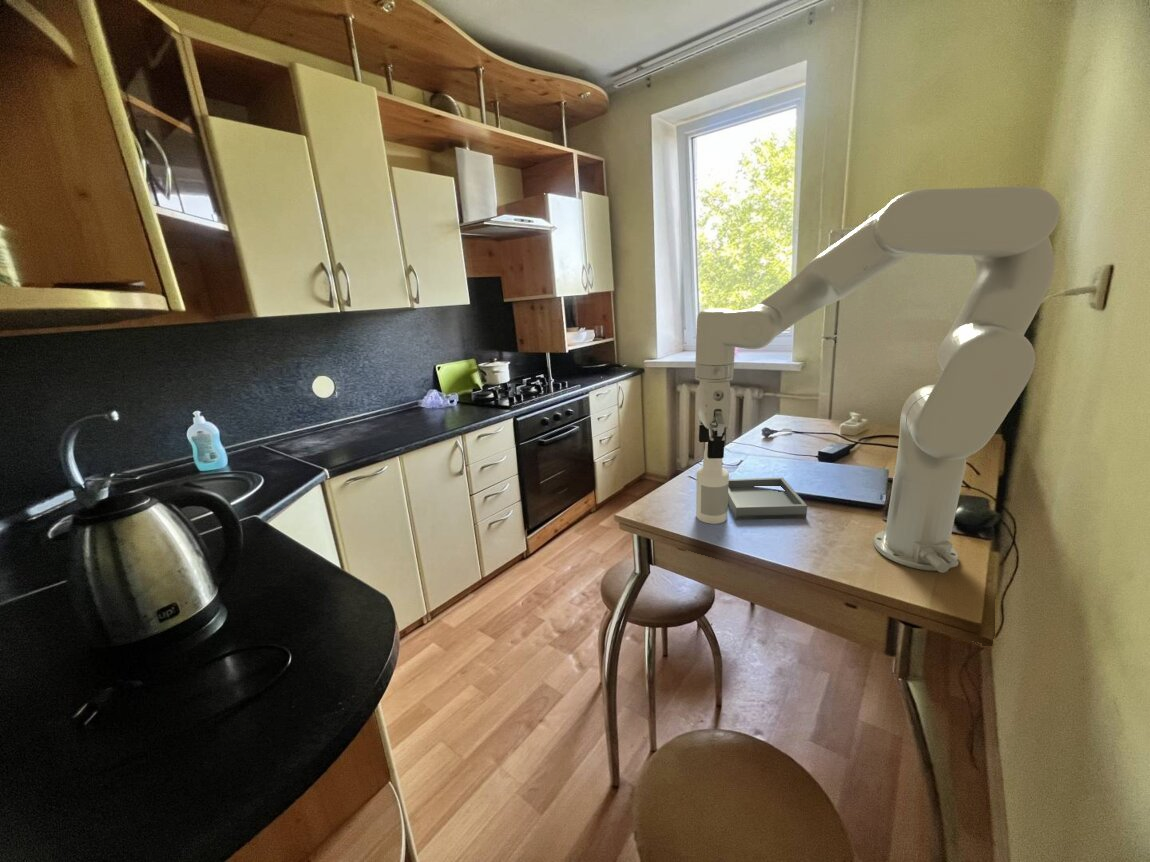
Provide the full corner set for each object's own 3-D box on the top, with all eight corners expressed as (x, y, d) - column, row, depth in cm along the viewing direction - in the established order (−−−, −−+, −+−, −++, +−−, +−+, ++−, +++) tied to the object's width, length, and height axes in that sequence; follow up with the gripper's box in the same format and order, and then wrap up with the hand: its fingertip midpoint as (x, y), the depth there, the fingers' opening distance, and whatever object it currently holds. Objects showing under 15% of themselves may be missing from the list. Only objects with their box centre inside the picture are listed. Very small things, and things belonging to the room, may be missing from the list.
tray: (806, 518, 98) (807, 505, 97) (735, 519, 100) (736, 507, 99) (781, 488, 113) (782, 477, 112) (720, 490, 114) (721, 479, 113)
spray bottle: (712, 527, 97) (714, 450, 92) (689, 515, 103) (690, 442, 98) (734, 518, 101) (737, 442, 95) (710, 507, 106) (712, 435, 101)
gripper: (744, 379, 83) (738, 464, 89) (723, 363, 100) (719, 436, 105) (703, 381, 84) (700, 465, 89) (688, 364, 100) (686, 436, 106)
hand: (710, 449), depth 97 cm, fingers open, 9 cm apart
